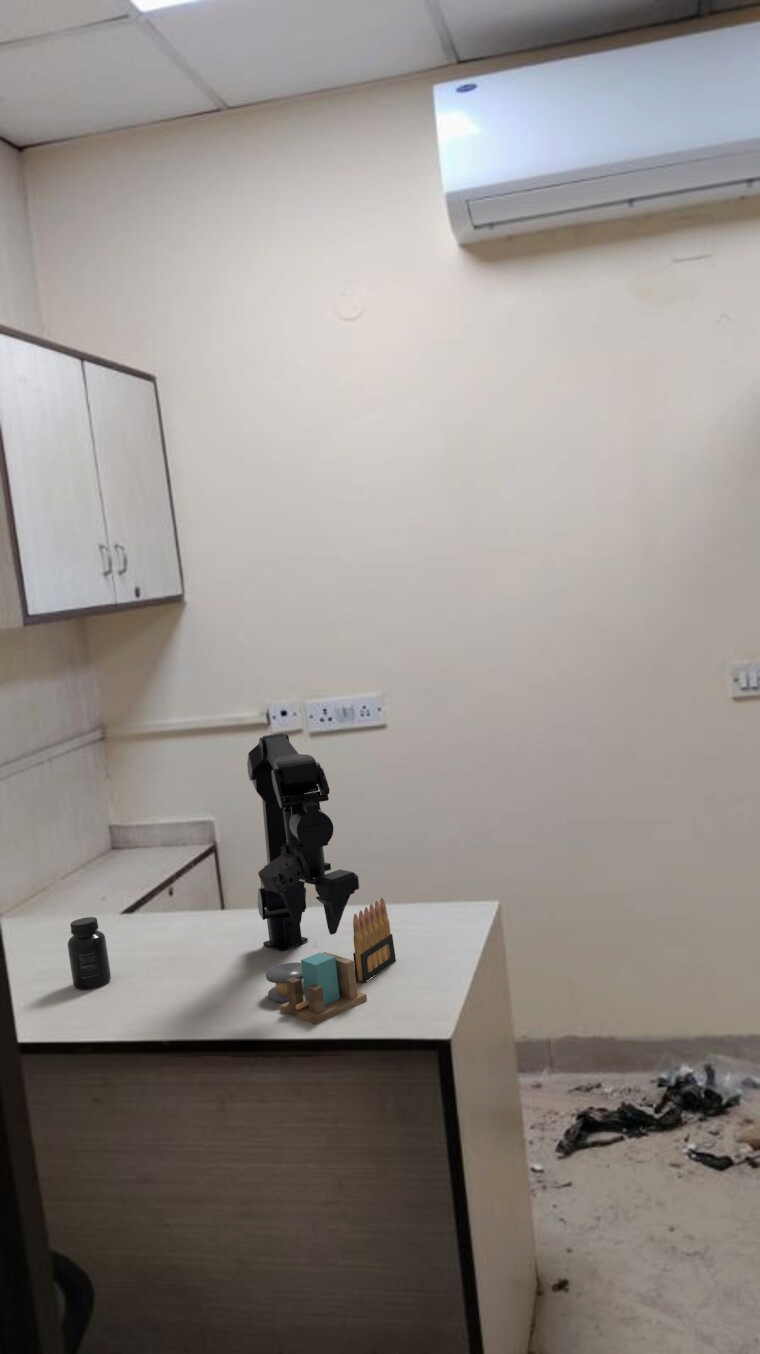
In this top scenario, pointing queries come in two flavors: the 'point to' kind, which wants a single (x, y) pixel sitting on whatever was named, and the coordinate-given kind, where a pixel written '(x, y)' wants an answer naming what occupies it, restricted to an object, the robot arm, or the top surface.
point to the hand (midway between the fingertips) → (314, 928)
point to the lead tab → (320, 977)
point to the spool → (283, 980)
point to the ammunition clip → (372, 942)
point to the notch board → (315, 995)
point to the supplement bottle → (88, 955)
